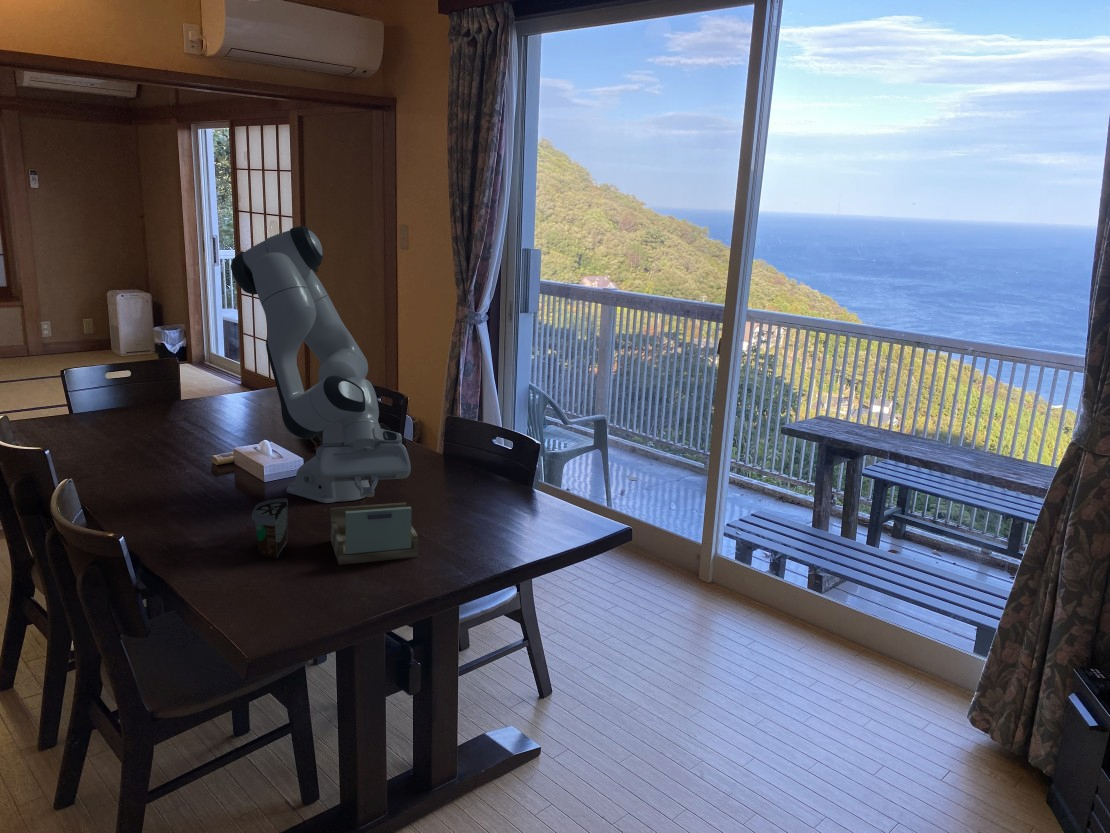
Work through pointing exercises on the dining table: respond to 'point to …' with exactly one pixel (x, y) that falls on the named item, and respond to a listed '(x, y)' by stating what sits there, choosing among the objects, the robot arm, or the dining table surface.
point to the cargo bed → (344, 558)
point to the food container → (271, 526)
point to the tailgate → (377, 530)
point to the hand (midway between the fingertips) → (367, 496)
